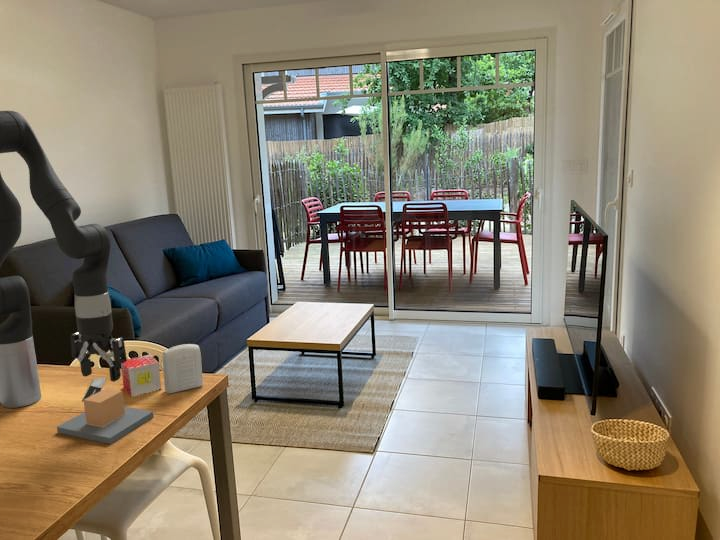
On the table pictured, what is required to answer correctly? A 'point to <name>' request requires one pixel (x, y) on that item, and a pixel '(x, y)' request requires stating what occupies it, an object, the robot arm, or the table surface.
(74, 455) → the table surface
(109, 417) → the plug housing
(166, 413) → the table surface
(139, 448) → the table surface
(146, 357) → the red and white cube
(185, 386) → the photo printer
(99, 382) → the computer memory module
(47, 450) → the table surface
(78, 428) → the board
